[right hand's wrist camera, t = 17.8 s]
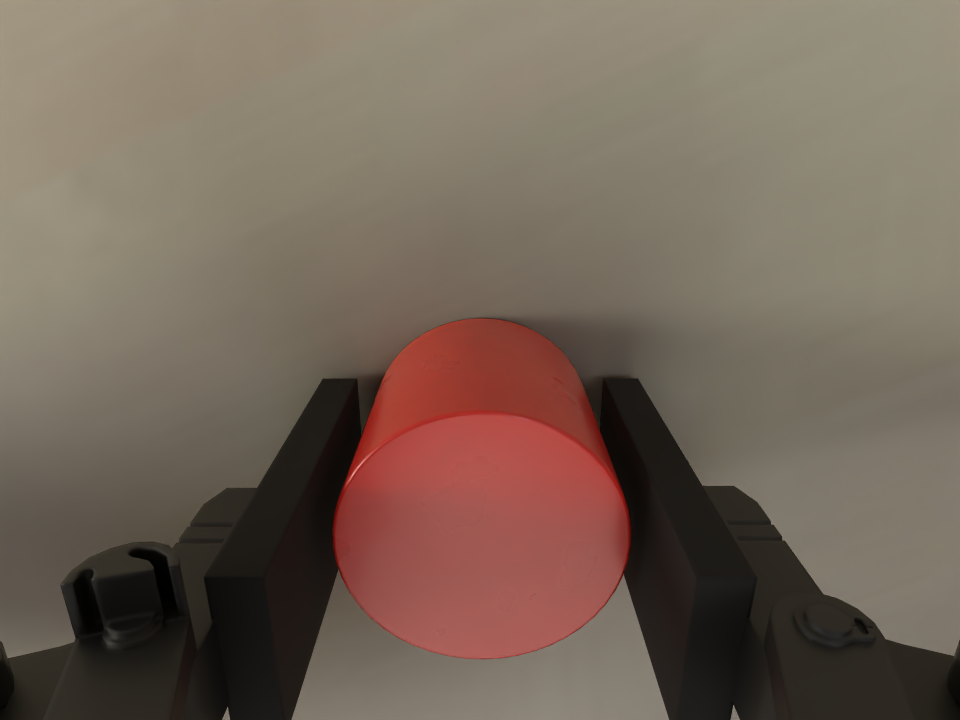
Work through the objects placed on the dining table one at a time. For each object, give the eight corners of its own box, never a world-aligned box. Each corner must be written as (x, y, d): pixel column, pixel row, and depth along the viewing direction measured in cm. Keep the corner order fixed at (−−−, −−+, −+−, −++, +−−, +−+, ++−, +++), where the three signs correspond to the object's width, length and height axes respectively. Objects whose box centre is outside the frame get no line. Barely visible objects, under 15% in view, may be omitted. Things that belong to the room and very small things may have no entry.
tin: (522, 276, 13) (542, 355, 9) (623, 451, 15) (680, 589, 11) (333, 383, 14) (270, 501, 10) (446, 538, 16) (434, 697, 12)
